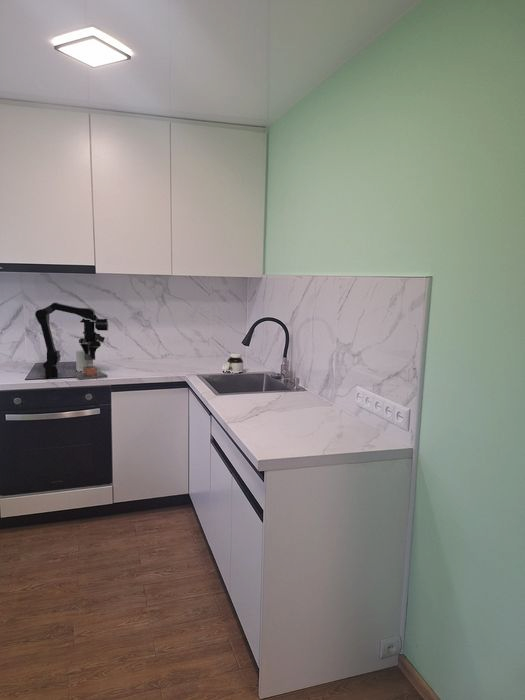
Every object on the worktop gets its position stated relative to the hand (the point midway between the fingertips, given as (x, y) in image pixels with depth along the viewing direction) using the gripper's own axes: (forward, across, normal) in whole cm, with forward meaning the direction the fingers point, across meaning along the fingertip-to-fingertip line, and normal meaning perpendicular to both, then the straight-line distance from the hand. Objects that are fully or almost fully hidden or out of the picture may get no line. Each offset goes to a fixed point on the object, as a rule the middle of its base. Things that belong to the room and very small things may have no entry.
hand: (89, 356), depth 279 cm
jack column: (+6, 0, 0) cm, 6 cm away
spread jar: (+12, -31, -80) cm, 87 cm away
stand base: (+12, 0, 0) cm, 12 cm away
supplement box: (+12, +20, -4) cm, 24 cm away
